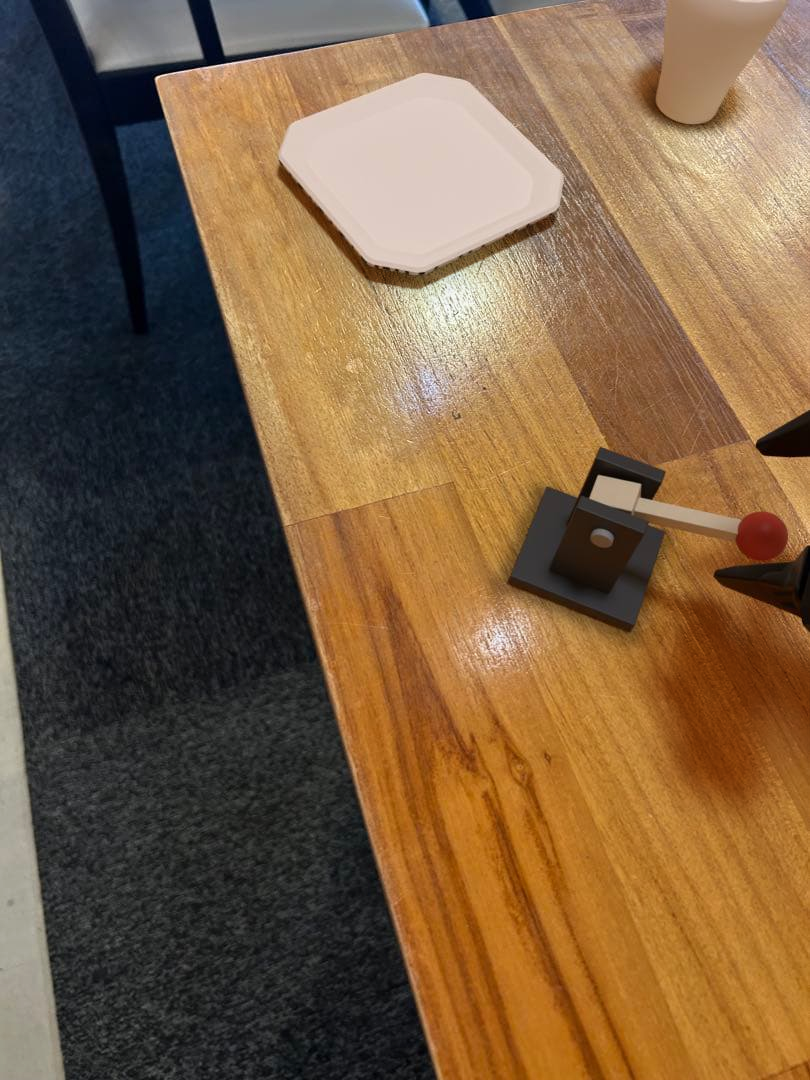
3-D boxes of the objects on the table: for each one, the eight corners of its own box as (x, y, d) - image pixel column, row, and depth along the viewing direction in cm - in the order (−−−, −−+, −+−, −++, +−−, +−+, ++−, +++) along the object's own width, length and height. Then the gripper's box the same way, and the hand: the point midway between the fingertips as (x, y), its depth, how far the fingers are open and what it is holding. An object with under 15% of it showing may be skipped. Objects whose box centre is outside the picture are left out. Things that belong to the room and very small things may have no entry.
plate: (581, 213, 84) (587, 193, 82) (388, 305, 78) (389, 285, 76) (446, 80, 92) (449, 59, 90) (259, 154, 85) (258, 132, 83)
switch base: (660, 539, 69) (707, 465, 60) (630, 632, 65) (675, 568, 57) (543, 494, 70) (573, 415, 62) (507, 583, 66) (533, 513, 58)
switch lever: (788, 536, 59) (796, 507, 56) (778, 575, 57) (786, 548, 55) (600, 494, 63) (599, 466, 61) (586, 530, 62) (585, 503, 59)
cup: (621, 122, 91) (664, -19, 79) (645, 58, 95) (690, -84, 84) (728, 153, 89) (788, 16, 78) (748, 87, 94) (807, -52, 82)
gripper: (1014, 197, 42) (709, 297, 55) (944, 540, 35) (607, 568, 47) (1097, 362, 48) (801, 420, 60) (1052, 691, 40) (723, 681, 52)
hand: (739, 510), depth 54 cm, fingers open, 9 cm apart
